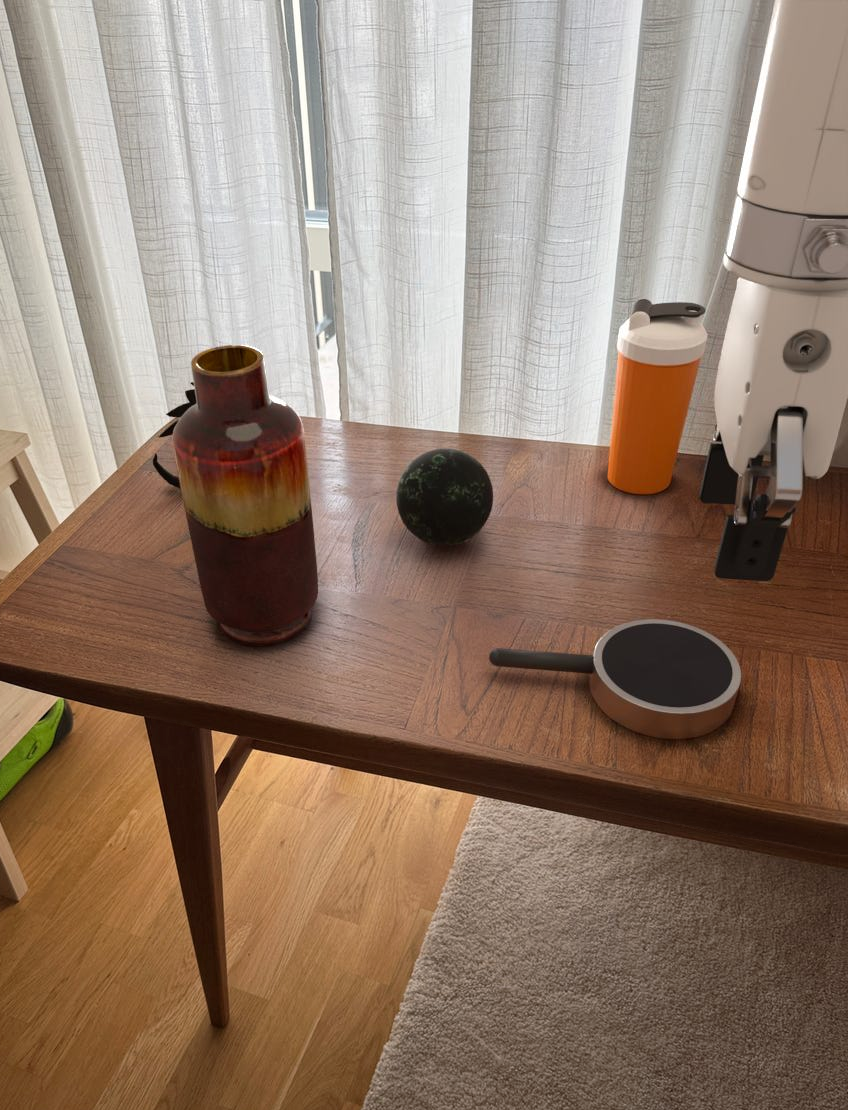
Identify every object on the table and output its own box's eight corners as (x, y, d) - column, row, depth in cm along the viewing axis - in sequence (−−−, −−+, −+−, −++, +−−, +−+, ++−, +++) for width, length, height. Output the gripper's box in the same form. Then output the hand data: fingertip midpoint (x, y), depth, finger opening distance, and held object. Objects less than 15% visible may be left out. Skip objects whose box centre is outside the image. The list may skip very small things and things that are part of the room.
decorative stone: (399, 566, 95) (396, 481, 88) (395, 515, 102) (393, 433, 96) (496, 563, 94) (501, 477, 88) (485, 511, 102) (489, 429, 96)
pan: (724, 649, 83) (731, 623, 81) (743, 746, 73) (751, 719, 72) (492, 632, 86) (493, 607, 84) (483, 722, 77) (484, 696, 75)
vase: (248, 572, 95) (210, 324, 78) (341, 599, 91) (322, 343, 74) (185, 634, 88) (127, 374, 71) (283, 667, 83) (247, 398, 67)
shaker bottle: (682, 501, 102) (718, 323, 89) (600, 497, 103) (624, 322, 90) (674, 462, 109) (707, 291, 96) (597, 459, 110) (620, 290, 97)
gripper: (946, 300, 38) (827, 631, 49) (850, 188, 51) (774, 470, 62) (755, 297, 39) (681, 621, 50) (709, 188, 52) (659, 465, 63)
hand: (733, 536), depth 56 cm, fingers open, 7 cm apart
